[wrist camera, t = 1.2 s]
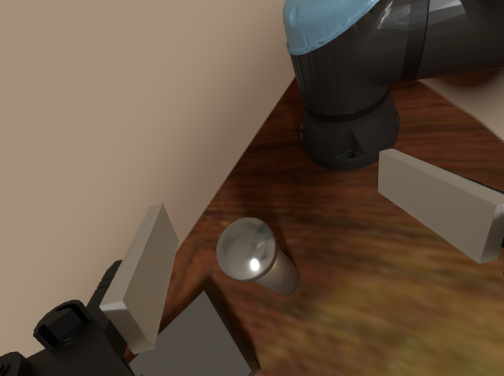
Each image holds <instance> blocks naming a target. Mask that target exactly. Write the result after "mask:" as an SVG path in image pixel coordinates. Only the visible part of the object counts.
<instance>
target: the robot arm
mask: <svg viewBox="0 0 504 376" xmlns="http://www.w3.org/2000/svg"><path fill="white" fill-rule="evenodd" d="M283 21H284V26H285V32H286V37H287V49H288V52H289V53H290V56H291V60H292V63H293V68H294V72H295V76H296V79H297V83H298V87H299V91H300V95H301V99H302V103H303V107H304V108H303V114H302V123H301V127H300V139H301V143H302V146H303V149H304V152H305V153H306V155H307V156H308V157H309V158H310V159H311V160H312V161H313V162H315V163H316V164H318V165H320V166H322V167H325V168H329V169H333V170H353V169H359V168H363V167H366V166H368V165H371V164H373V163H375V162H377V161H379V176H378V192H379V193H381V194H382V195H383V196H385V197H386V198H388V199H389V200H390V201H392V202H393V203H395V204H396V205H397V206H399V207H400V208H402V209H403V210H404V211H406V212H407V213H409V214H410V215H411V216H413V217H414V218H416V219H417V220H418V221H420V222H421V223H423V224H424V225H425V226H427V227H428V228H430V229H431V230H432V231H434V232H435V233H437V234H438V235H439V236H441V237H442V238H444V239H445V240H446V241H448V242H449V243H451V244H452V245H453V246H455V247H456V248H458V249H459V250H460V251H462V252H463V253H465V254H466V255H467V256H469V257H470V258H472V259H473V260H474V261H476V262H477V263H479V264H481V263H485V262H488V261H492V260H496V259H497V258H498V255H499V253H500V250H501V247H503V248H504V192H503V191H500V190H498V189H493V187H490V186H488V185H484V184H483V183H480V182H478V181H475V180H473V179H469V178H465V177H460V176H458V175H455V174H453V173H450V172H448V171H445V170H443V169H441V168H438V167H436V166H433V165H431V164H428V163H426V162H424V161H421V160H419V159H416V158H414V157H411V156H409V155H407V154H404V153H402V152H399V151H397V150H395V149H392V148H393V146H394V145H395V143H396V141H397V137H398V132H399V127H400V118H399V114H398V111H397V109H396V107H395V105H394V101H393V98H392V95H391V91H390V90H391V84H393V83H399V82H406V81H413V80H419V79H426V78H433V77H440V76H448V75H455V74H463V73H469V72H477V71H484V70H492V69H499V68H504V0H286V1H285V4H284V8H283ZM178 242H179V241H178V238H177V235H176V233H175V231H174V229H173V226H172V224H171V221H170V219H169V217H168V214H167V212H166V210H165V207H164V205H163V204H159V205H154V206H150V207H149V210H148V211H147V213H146V215H145V217H144V219H143V221H142V223H141V225H140V227H139V229H138V231H137V233H136V235H135V237H134V239H133V241H132V243H131V245H130V247H129V249H128V251H127V252H126V254H125V256H124V258H123V260H119V261H115V263H114V264H113V265H112V266H111V267H110V268H109V269H108V270H107V271H106V273H105V275H104V276H103V278H102V281H101V282H100V283H99V285H98V287H97V290H95V292H94V294H93V296H92V297H91V299H90V301H89V303H88V305H87V306H86V307H85V306H84V304H83V303H82V302H81V301H79V300H71V301H68V302H64V303H62V304H61V305H59V306H57V307H55V308H54V309H52V310H51V311H50V312H49V313H47V314H46V315H45V316H44V317H43V318H42V319H41V320H40V321H39V323H38V324H37V326H36V328H35V329H34V334H33V336H34V337H35V338H36V339H37V340H38V341H39V342H40V343H41V344H42V345H43V346H44V347H45V348H46V349H44V350H42V351H40V352H38V353H36V354H34V355H32V356H30V357H28V358H25V357H23V355H21V354H20V353H18V352H10V353H7V354H5V355H3V356H1V357H0V376H135V374H134V372H133V371H132V369H131V367H130V365H129V364H128V362H127V361H126V359H125V358H124V354H125V351H126V348H127V346H128V347H129V348H130V350H131V351H132V352H133V354H138V353H142V352H145V351H149V350H153V349H154V347H155V343H156V338H157V334H158V329H159V325H160V321H161V316H162V312H163V308H164V303H165V299H166V294H167V290H168V286H169V281H170V277H171V272H172V268H173V264H174V259H175V255H176V250H177V246H178ZM503 275H504V274H503Z"/></svg>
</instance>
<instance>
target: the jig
mask: <svg viewBox="0 0 504 376" xmlns="http://www.w3.org/2000/svg"><path fill="white" fill-rule="evenodd" d="M129 365H130V367H131V369H132V371H133V372H134V374H135V376H254V375H255V374H256V373H257V372H258V371H259V370H260V369H261V368H260V367H259V365H258V363H257V362H256V360H255V358H254V357H253V355H252V354H251V352H250V350H249V349H248V347H247V345H246V344H245V342H244V341H243V339H242V337H241V336H240V334H239V332H238V331H237V329H236V328H235V326H234V324H233V323H232V321H231V319H230V318H229V316H228V315H227V313H226V311H225V310H224V308H223V306H222V305H221V303H220V302H219V300H218V298H217V297H216V295H215V294H214V293H211V292H207V291H203V292H202V293H201V294H200V295H199V296H198V297H197V298H196V299H195V300H194V301H193V302H192V303H191V304H190V305H189V306H188V307H187V308H186V309H185V310H184V311H183V312H181V313H180V314H179V315H178V316H177V317H176V318H175V319H174V320H173V321H172V322H171V323H170V324H169V325H168V326H167V327H166V328H165V329H164V330H163V331H162V332H161V333H160V334H159V335H158V336H157V338H156V343H155V347H154V349H153V350H149V351H145V352H142V353H139V354H138V355H137V356H136V357H135V358H134V359H133V360H132V361H131V362H130V363H129Z"/></svg>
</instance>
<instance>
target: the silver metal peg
mask: <svg viewBox="0 0 504 376" xmlns="http://www.w3.org/2000/svg"><path fill="white" fill-rule="evenodd" d="M216 255H217V261H218V264H219V266H220V267H221V269H222V270H223V272H225V273H226V274H227V275H229V276H230V277H232V278H234V279H237V280H239V281H243V282H251V281H255V282H256V283H258V284H260V285H262V286H264V287H265V288H267V289H269V290H271V291H273V292H275V293H276V294H278V295H282V296H287V295H290V294H292V293H294V292H295V291H296V289H297V288H298V286H299V283H300V274H299V271H298V269H297V268H296V267H295V266H294V265H293V263H292V262H291V261H290V260H289V259H288V258H287V257H286V256H285V254H284V253H283V252H282V251H281V250H280V249H279V248H278V243H277V239H276V237H275V235H274V233H273V231H272V230H271V229H270V228H269V227H268V225H267V224H266V223H264V222H263V221H261V220H259V219H257V218H251V217H247V218H242V219H239V220H236V221H235V222H233V223H231V224H230V225H229V226H228V227H227V228H226V229H225V230H224V231H223V233H222V234H221V236H220V238H219V241H218V244H217V250H216Z"/></svg>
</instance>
